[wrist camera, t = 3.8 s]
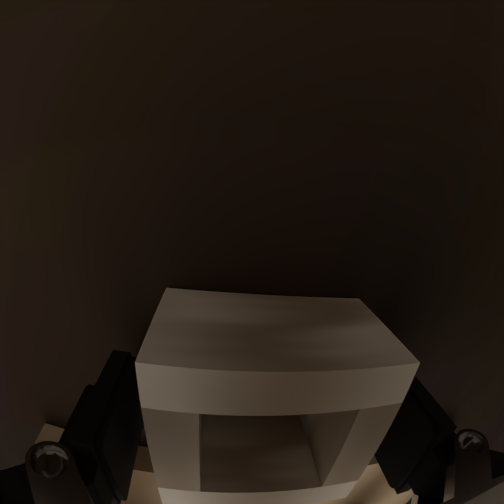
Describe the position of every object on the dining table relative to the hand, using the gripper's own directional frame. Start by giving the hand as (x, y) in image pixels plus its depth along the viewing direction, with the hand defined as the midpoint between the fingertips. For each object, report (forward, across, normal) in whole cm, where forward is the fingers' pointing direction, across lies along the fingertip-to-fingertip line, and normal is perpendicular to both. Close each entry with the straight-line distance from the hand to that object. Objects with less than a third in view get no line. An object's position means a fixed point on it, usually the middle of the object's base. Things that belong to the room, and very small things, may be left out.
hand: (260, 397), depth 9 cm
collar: (+1, 0, 0) cm, 1 cm away
